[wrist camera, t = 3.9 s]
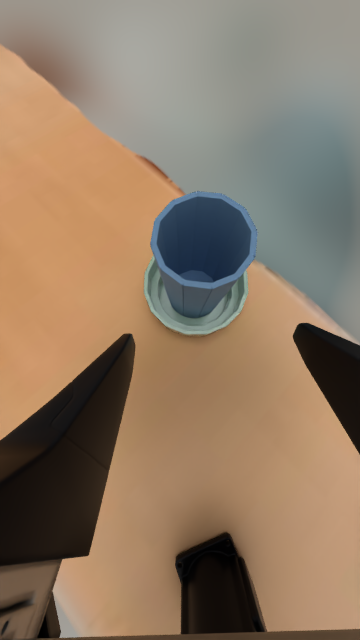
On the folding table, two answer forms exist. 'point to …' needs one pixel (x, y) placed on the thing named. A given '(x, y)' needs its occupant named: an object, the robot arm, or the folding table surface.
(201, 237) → the tumbler
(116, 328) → the folding table surface
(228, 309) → the bowl
